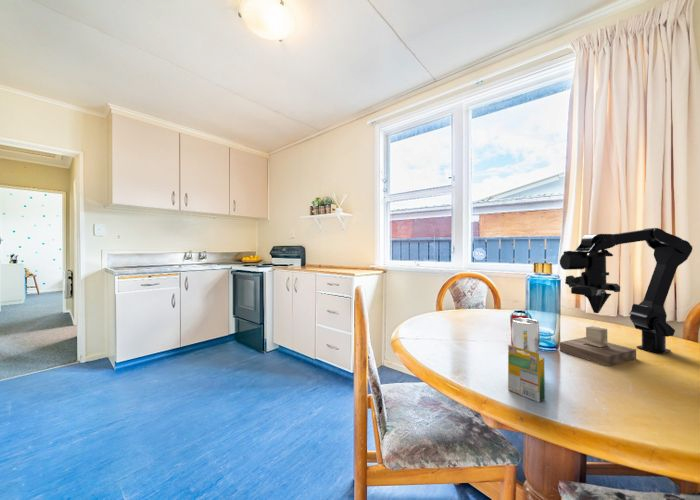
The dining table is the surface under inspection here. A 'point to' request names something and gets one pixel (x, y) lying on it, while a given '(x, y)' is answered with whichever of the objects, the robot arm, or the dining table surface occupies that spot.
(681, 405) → the dining table surface
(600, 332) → the maple peg
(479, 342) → the dining table surface
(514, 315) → the beverage can
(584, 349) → the walnut board
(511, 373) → the crayon box
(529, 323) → the white box
